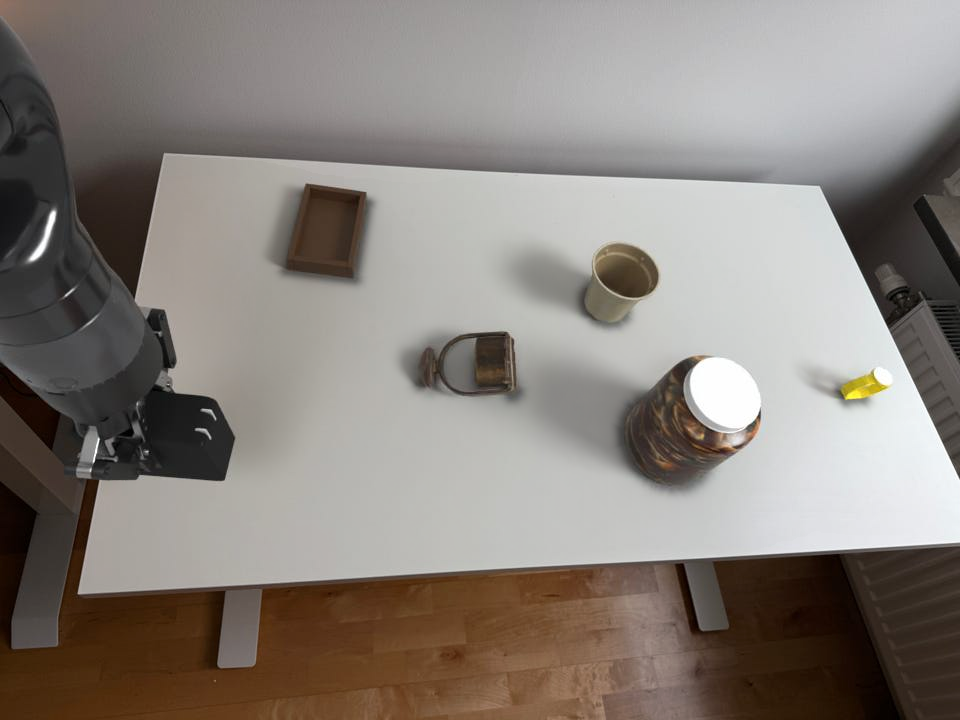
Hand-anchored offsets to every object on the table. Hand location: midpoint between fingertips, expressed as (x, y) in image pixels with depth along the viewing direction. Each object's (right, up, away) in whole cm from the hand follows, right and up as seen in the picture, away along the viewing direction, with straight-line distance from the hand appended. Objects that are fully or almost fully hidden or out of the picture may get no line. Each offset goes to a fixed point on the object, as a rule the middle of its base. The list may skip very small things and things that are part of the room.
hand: (158, 435), depth 51 cm
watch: (+80, +1, +35) cm, 88 cm away
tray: (+6, +24, +34) cm, 42 cm away
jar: (+51, -4, +27) cm, 58 cm away
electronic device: (-1, -3, +5) cm, 5 cm away
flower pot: (+45, +14, +36) cm, 59 cm away
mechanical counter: (+26, +5, +27) cm, 38 cm away
